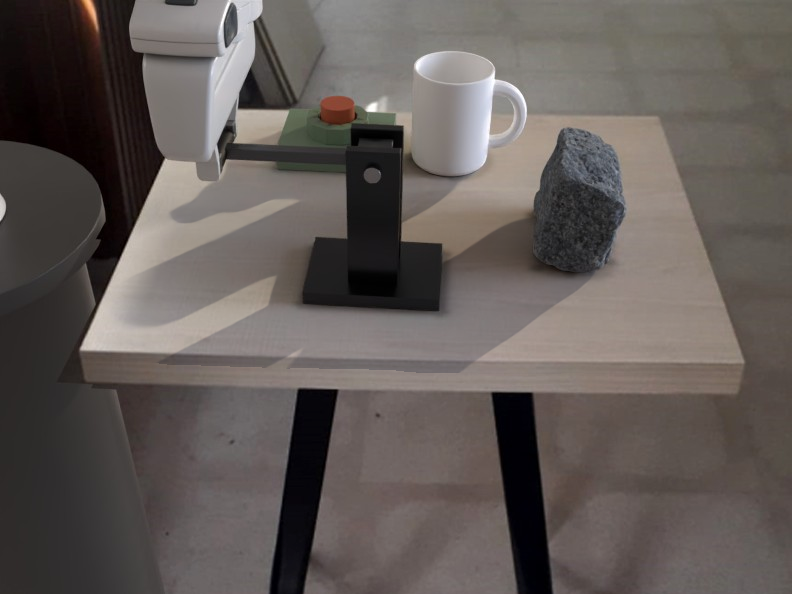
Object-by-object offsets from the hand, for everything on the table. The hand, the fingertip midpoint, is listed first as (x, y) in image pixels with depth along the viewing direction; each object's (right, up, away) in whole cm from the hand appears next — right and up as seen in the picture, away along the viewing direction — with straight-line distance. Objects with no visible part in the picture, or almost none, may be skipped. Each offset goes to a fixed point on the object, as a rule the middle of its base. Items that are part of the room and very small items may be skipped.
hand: (218, 158), depth 80 cm
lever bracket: (+13, -9, +7) cm, 17 cm away
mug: (+22, +6, +24) cm, 33 cm away
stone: (+31, -5, +13) cm, 34 cm away
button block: (+8, +7, +25) cm, 27 cm away
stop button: (+9, +10, +23) cm, 26 cm away
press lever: (+7, -1, 0) cm, 7 cm away
